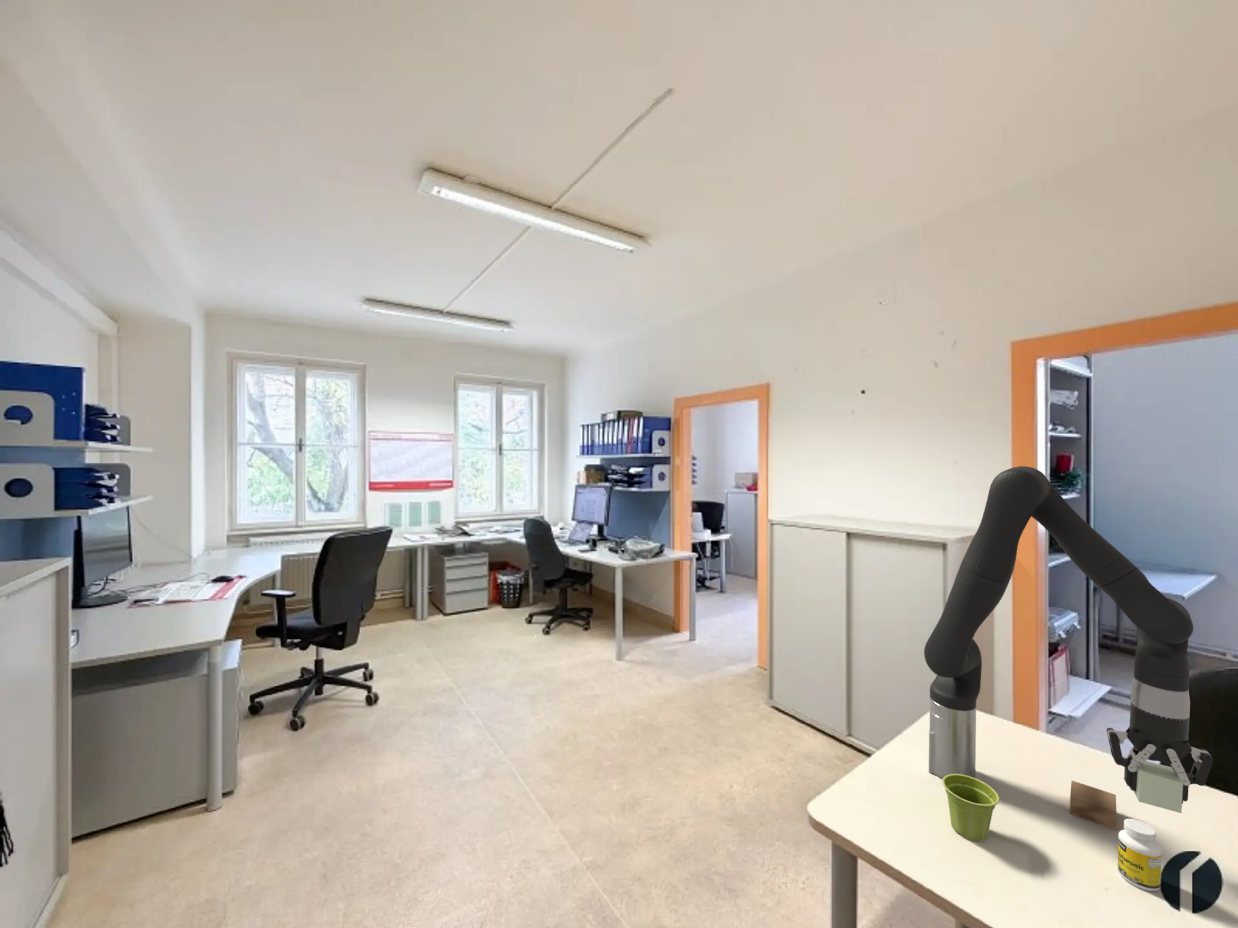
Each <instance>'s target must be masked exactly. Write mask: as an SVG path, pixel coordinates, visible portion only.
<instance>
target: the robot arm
mask: <svg viewBox="0 0 1238 928" xmlns="http://www.w3.org/2000/svg"><path fill="white" fill-rule="evenodd" d="M982 513H983V514H982V518H981V520H980V524H979V525H978V528H977V530H976V531H975V533H974V535H973V537H972V539H971V542H970V544H969V546H968V548H967V549H966V552H965V554H964V556H963V558H962V561H961V563H960V565H959V568H958V571H957V572H956V575H955V579H954V581H953V585H952V587H951V589H950V592H949V594H948V597H947V600H946V602H945V606H944V608H943V611H942V614H941V615H940V617H939V620H938V622H937V624H936V625H935V627H934V628H933V631H932V632H931V633H930V635H929V637H928V639H927V641H926V642H925V645H924V648H923V649H924V650H923V653H924V654H923V656H924V660H925V663H926V665H927V667H928V668H929V670H930V671H931V672H932V673H934V674H935V675H936V677H935V678H934V680H933V681H932V682H931V684H930V688H929V730H928V732H929V733H928V772H929V773H931V774H934V775H935V776H937V777H939V778H940V779H942V780H943V778H944V777H945V776H946V775H950V774H961V775H966V776H970V777H973V778H975V779H976V753H977V752H976V751H977V750H976V745H977V743H976V742H977V739H976V737H977V734H976V733H977V699H978V697H979V695H980V693H981V683H982V666H983V665H982V661H983V660H982V652H981V650H980V647H979V645H978V643H977V642H976V641H975V639H974V636H975V635H976V632H977V631H978V630H979V629H980V627H981V625H982V624H983V623H984V622H985V621H986V619H987V618H988V617H989V616H990V615H991V613H992V612H993V611H994V610H995V608H996V607H998V605H999V603H1000V601H1001V600H1002V598H1003V596H1004V595H1005V593H1006V590H1007V588H1008V585H1009V583H1010V580H1011V579H1012V576H1013V573H1014V569H1015V564H1016V562H1017V561H1016V559H1017V554H1018V549H1019V548H1018V546H1019V543H1020V539H1021V536H1022V535H1023V532H1024V530H1025V529H1026V526H1027V525H1028V523H1029V521H1030V519H1031V518H1033V519H1034V520H1035V521H1036V522H1037V523H1038V524H1040V525H1041V526H1042V527H1043V528H1044V529H1045V530H1046V531H1047V532H1048V533H1049V534H1050V535H1051V537H1053V538H1054V540H1055V541H1056V542H1057V543H1058V545H1059V546H1060V547H1061V548H1062V550H1063V551H1064V552H1065V554H1066V555H1067V557H1068V558H1069V559H1070V560H1071V561H1072V562H1073V564H1074V565H1075V566H1076V567H1077V568H1078V569H1079V570H1080V572H1082V574H1084V575H1085V576H1086V577H1087V578H1088V579H1089V580H1090V581H1092V582H1093V584H1095V585H1096V586H1097V587H1098V589H1100V590H1101V591H1102V592H1104V593H1105V594H1106V595H1107V596H1108V597H1110V599H1112V601H1113V602H1114V603H1115V604H1116V606H1117V607H1118V608H1119V609H1120V610H1121V611H1122V612H1123V613H1124V615H1125V616H1126V617H1127V618H1128V619H1129V620H1130V621H1131V622H1132V623H1133V625H1134V626H1135V627H1136V639H1137V640H1136V643H1137V647H1136V651H1135V655H1134V663H1133V665H1134V666H1133V680H1132V684H1131V690H1130V693H1129V694H1130V695H1129V698H1130V707H1129V709H1130V710H1129V726H1128V728H1127V729H1126V730H1125V731H1122V730H1115V729H1114V728H1112V727H1108V728H1106V735H1107V739H1108V743H1109V744H1108V745H1109V748H1110V754H1111V757H1112V759H1113V761H1114V762H1115V764H1116V765H1118V766H1121V767H1123V768H1124V776H1123V780H1124V781H1125V784H1126V786H1127V787H1128V788H1129V789H1130V791H1132V792H1133V791H1136V789H1137V772H1136V771H1137V769H1138V768H1139V767H1140V765H1141V764H1144V763H1145V761H1151V762H1152V761H1153V762H1161V763H1162V764H1163V765H1164V764H1165V765H1167V766H1170V767H1172V769H1173V770H1174V772H1175V773H1176V774H1177V776H1178V778H1179V779H1180V780H1181V782H1182V783H1183V792H1182V805H1183V804H1184V802H1188V801H1189V788H1190V787H1189V786H1190V785H1197V786H1200V787H1204V786H1205V785H1206V782H1207V779H1208V776H1209V775H1210V771H1211V768H1212V766H1213V763H1214V757H1213V756H1212V755H1211V754H1210V753H1209V751H1208V750H1207V749H1205V748H1196V747H1194V746H1191V744H1190V743H1189V731H1190V711H1191V700H1190V699H1191V698H1190V693H1189V692H1190V689H1189V688H1190V664H1189V660H1188V659H1189V658H1188V647H1189V639H1190V637H1191V636H1192V635H1193V632H1194V624H1193V619H1192V618H1191V617H1192V616H1191V615H1190V613H1189V611H1188V609H1187V608H1186V607H1184V605H1182V604H1181V603H1179V602H1178V601H1176V600H1174V599H1171V598H1169V597H1167V596H1165V595H1164V594H1163V593H1162V592H1161V591H1160V590H1158V589H1157V588H1156V587H1155V586H1154V585H1152V583H1151V582H1150V580H1149V579H1148V577H1146V575H1145V574H1144V573H1143V571H1141V570H1140V569H1139V567H1137V566H1136V565H1135V564H1134V563H1133V562H1132V561H1131V560H1130V559H1128V558H1127V557H1126V556H1125V555H1124V554H1123V553H1121V552H1120V551H1119V550H1118V549H1117V547H1115V546H1113V545H1112V544H1111V543H1110V542H1109V541H1108V540H1106V539H1105V538H1104V537H1103V536H1102V535H1101V534H1100V533H1099V532H1097V531H1096V530H1095V529H1094V528H1093V527H1091V525H1090V524H1088V522H1086V520H1084V519H1083V517H1082V516H1080V515H1079V514H1078V513H1077V512H1076V511H1075V510H1074V509H1073V508H1072V506H1071V505H1069V503H1068V502H1067V501H1066V500H1065V498H1064V497H1062V495H1061V494H1060V493H1059V491H1058V490H1057V489H1056V488H1055V486H1054V485H1053V484H1052V483H1051V481H1050V480H1049V479H1048V477H1047V476H1046V475H1045V474H1044V473H1043V472H1042V471H1041V470H1038V469H1037V468H1035V467H1031V466H1025V465H1022V466H1021V465H1019V466H1014V467H1011V468H1007V469H1004V470H1003V471H1001V472H1000V473H998V474H997V475H996V476H995V477H994V478H993V479H992V481H991V484H990V486H989V490H988V494H987V498H986V502H985V507H984V510H983V512H982ZM1126 739H1127V740H1128V741H1129V742H1130V743H1131V744H1132V747H1131V748H1130V750H1129V753H1128V755H1127V756H1126V757H1124V756H1123V754H1122V748H1121V745H1122V744H1123V745H1124V744H1125V740H1126ZM1190 754H1191V757H1192V759H1193V760H1194V761H1193V764H1192V767H1191V770H1190V772H1186V771H1185V768H1184V767H1183V765H1182V763H1181V760H1183V759H1184V758H1186V757H1187V756H1189V755H1190Z"/></svg>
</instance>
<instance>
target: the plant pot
mask: <svg viewBox="0 0 1238 928" xmlns="http://www.w3.org/2000/svg"><path fill="white" fill-rule="evenodd" d="M942 785H943V788H944V789H945V793H946V795H947V796H946V797H947V801H948V803H947V804H948V809H949V817H950V825H951V828H952V829H953V831H955V832H956V833H959V834H960V835H961V836H962V837H963V838H965V839H968V840H971V841H974V842H983V841H984V840H987V839H988V836H989V831H990V826H991V822H992V818H993V817H992V816H993V812H994V810H995V809H996V806H997V805H998V804H999V802H1000V797H999V795H998V793H997V792H996V791H995V789H994V788H992V787H991V786H990V785H989V784H988V783H986V782H984V781H982V780H980V779H977V778H976V777H975V778H973V777H970V776H966V775H961V774H950V775H946V776H945V777H944V778H943V779H942Z"/></svg>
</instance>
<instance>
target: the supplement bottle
mask: <svg viewBox="0 0 1238 928" xmlns="http://www.w3.org/2000/svg"><path fill="white" fill-rule="evenodd" d="M1117 838H1118V839H1117V871H1118V873H1119V875H1120V876H1121V877H1122V878H1123V879H1124V880H1125V881H1126V882H1128V883H1129V884H1131V885H1132V886H1134V887H1136V888H1138V889H1140V890H1143V891H1148V892H1158V891H1159V890H1160V889H1161V885H1162V848H1161V846H1160V845H1159V843H1158V842H1157V832H1156V829H1154V828H1153V827H1152V826H1151V825H1149V824H1147V823H1146V822H1143V821H1141V820H1138V819H1135V818H1126V819H1124V820H1123V829H1121V830H1120V831H1119V832H1118V835H1117Z"/></svg>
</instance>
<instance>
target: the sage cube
mask: <svg viewBox="0 0 1238 928" xmlns="http://www.w3.org/2000/svg"><path fill="white" fill-rule="evenodd" d="M1136 772H1137V789H1136V791H1133V790H1132V792H1133V793H1134V796H1135V797H1136V798H1137V801H1138V803H1143V804H1146V805H1150V806H1153V807H1156V808H1161V809H1164V810H1168V811H1172V812H1175V813H1179V814H1182V810H1183V809H1182V808H1183V804H1182V792H1183V783H1182V782H1181V780H1180V779H1179V778H1178V776H1177V774H1176V773H1175V772H1174V770H1173V768H1172V766H1169V765H1164V764H1160V763H1156V762H1152V761H1149V760H1146V761H1145V763H1144V764H1141V765H1140V767H1139V768H1138V769H1137V771H1136Z"/></svg>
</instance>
